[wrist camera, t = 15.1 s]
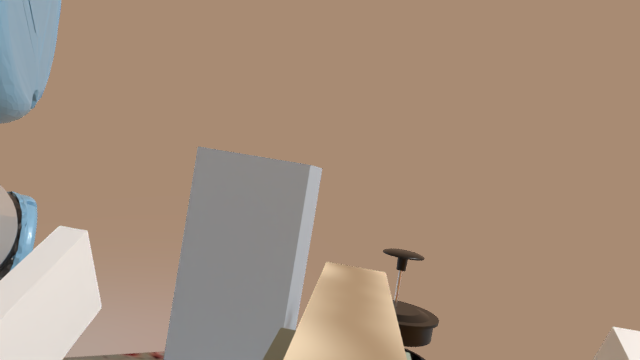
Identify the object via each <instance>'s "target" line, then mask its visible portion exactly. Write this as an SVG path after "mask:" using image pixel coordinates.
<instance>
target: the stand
mask: <svg viewBox="0 0 640 360" xmlns="http://www.w3.org/2000/svg"><path fill="white" fill-rule="evenodd" d="M321 173H322V169H321V168H319V167H315V166H311V165H306V164H301V163H295V162H288V161H282V160H276V159H270V158H264V157H258V156H251V155H246V154H240V153H234V152H228V151H221V150H216V149H209V148H203V147H198V150H197V156H196V162H195V169H194V175H193V181H192V187H191V194H190V199H189V205H188V212H187V218H186V224H185V230H184V236H183V242H182V249H181V255H180V261H179V268H178V273H177V279H176V286H175V292H174V298H173V304H172V311H171V316H170V323H169V329H168V336H167V341H166V347H165V353H164V360H263V358H264V356H265V354H266V353H267V351H268V349H269V347H270V345H271V344H272V342H273V340H274V338H275V337H276V335H277V333H278V331H279V329H280V328H287V329H292V330H296V324H297V318H298V312H299V306H300V300H301V294H302V288H303V282H304V276H305V270H306V264H307V258H308V252H309V246H310V239H311V234H312V228H313V222H314V216H315V210H316V204H317V197H318V191H319V185H320V179H321Z"/></svg>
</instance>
